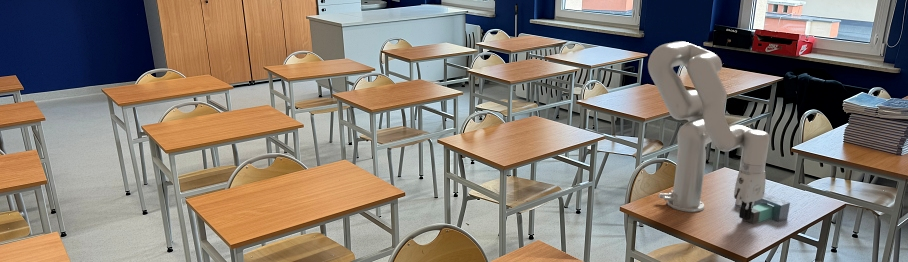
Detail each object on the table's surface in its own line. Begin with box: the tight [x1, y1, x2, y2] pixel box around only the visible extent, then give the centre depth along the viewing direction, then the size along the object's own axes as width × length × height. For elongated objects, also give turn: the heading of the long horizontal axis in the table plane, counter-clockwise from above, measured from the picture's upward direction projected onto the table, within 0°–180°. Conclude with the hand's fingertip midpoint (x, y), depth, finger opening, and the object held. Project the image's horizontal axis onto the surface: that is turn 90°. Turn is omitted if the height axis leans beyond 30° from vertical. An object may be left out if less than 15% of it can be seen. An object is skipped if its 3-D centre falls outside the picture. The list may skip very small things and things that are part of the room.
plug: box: [741, 203, 774, 225], centre depth 223 cm, size 11×4×4 cm, turn 121°
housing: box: [734, 192, 791, 223], centre depth 228 cm, size 5×17×6 cm, turn 30°
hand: (744, 218), depth 219 cm, fingers closed
